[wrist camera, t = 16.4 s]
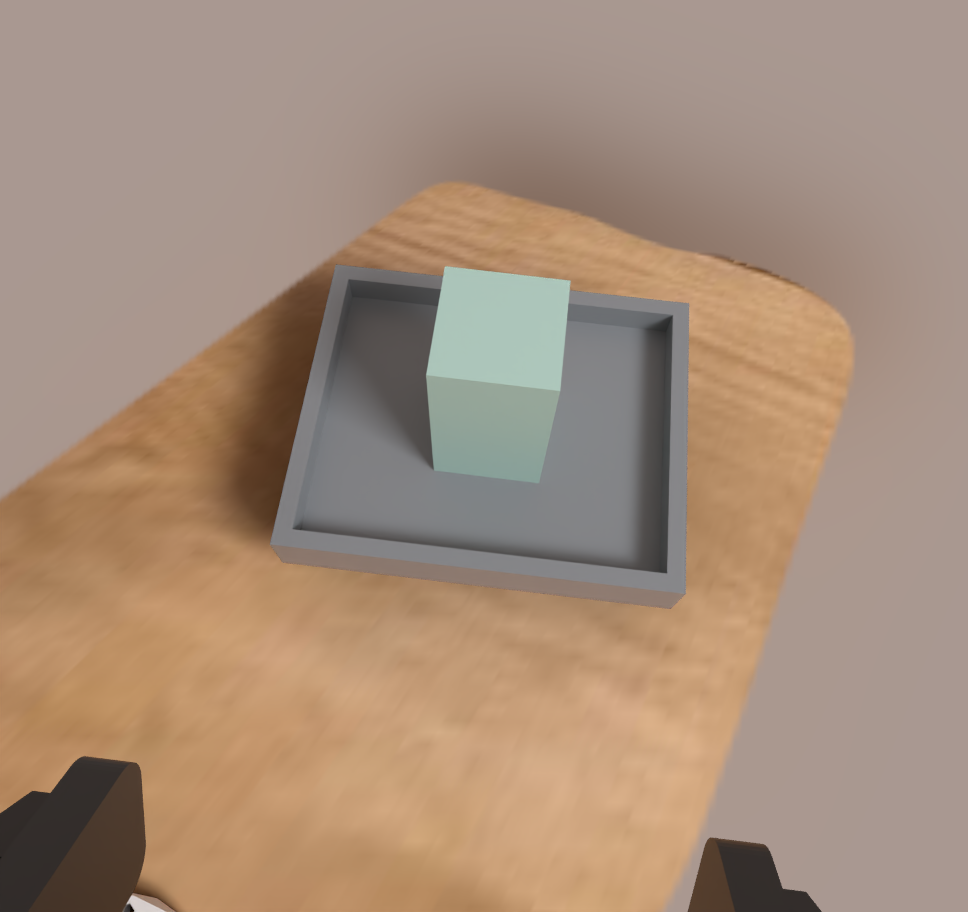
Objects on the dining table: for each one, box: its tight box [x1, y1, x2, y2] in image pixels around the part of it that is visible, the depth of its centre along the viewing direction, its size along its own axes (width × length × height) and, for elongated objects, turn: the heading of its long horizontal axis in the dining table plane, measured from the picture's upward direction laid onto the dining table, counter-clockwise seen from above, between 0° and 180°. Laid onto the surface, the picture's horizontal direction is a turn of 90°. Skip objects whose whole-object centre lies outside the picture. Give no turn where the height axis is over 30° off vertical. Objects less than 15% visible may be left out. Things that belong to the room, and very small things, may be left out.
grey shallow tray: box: [270, 265, 689, 609], centre depth 40 cm, size 18×15×6 cm
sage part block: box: [426, 266, 570, 483], centre depth 35 cm, size 5×5×9 cm
